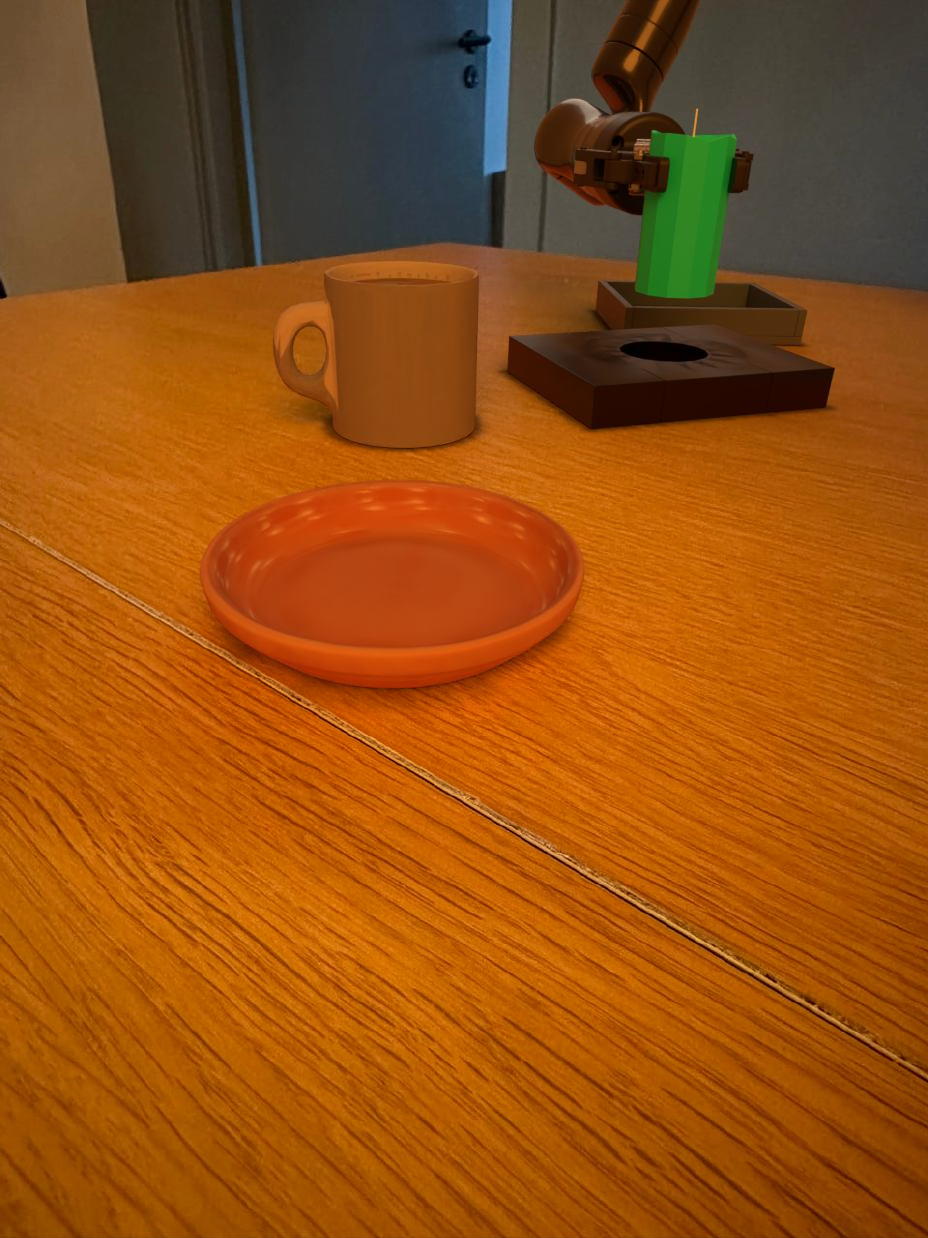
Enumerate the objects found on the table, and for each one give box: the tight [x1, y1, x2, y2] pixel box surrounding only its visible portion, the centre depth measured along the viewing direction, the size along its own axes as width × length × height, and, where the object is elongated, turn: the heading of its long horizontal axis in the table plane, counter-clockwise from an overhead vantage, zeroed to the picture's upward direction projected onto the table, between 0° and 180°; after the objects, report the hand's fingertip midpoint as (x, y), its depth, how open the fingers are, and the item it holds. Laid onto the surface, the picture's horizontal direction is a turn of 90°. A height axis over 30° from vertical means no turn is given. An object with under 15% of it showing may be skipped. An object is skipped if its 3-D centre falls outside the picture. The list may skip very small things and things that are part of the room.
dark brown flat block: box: [506, 324, 836, 430], centre depth 69 cm, size 20×16×3 cm
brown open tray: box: [595, 279, 808, 346], centre depth 90 cm, size 18×16×3 cm
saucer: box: [199, 479, 586, 689], centre depth 37 cm, size 16×16×3 cm
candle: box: [634, 108, 738, 298], centre depth 63 cm, size 6×6×12 cm
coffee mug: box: [272, 260, 480, 449], centre depth 58 cm, size 13×10×10 cm
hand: (702, 175), depth 60 cm, fingers closed on candle, 5 cm apart
